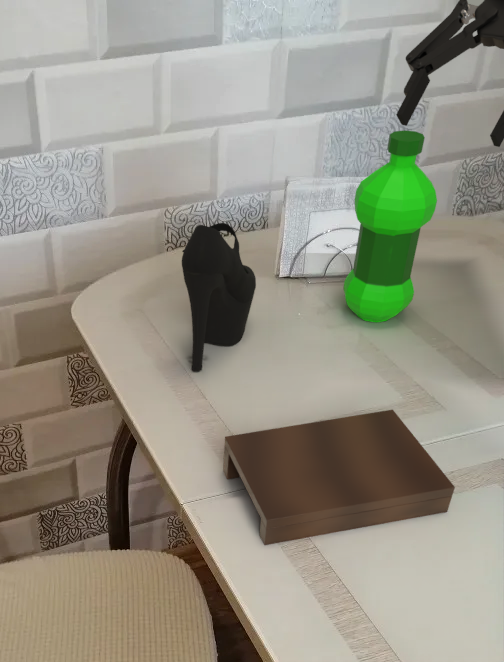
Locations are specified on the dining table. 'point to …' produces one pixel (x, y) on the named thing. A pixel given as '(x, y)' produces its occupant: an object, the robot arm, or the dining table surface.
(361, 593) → the dining table surface
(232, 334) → the high-heeled shoe
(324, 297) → the dining table surface
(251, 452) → the wooden display riser
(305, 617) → the dining table surface
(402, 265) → the plastic bottle
